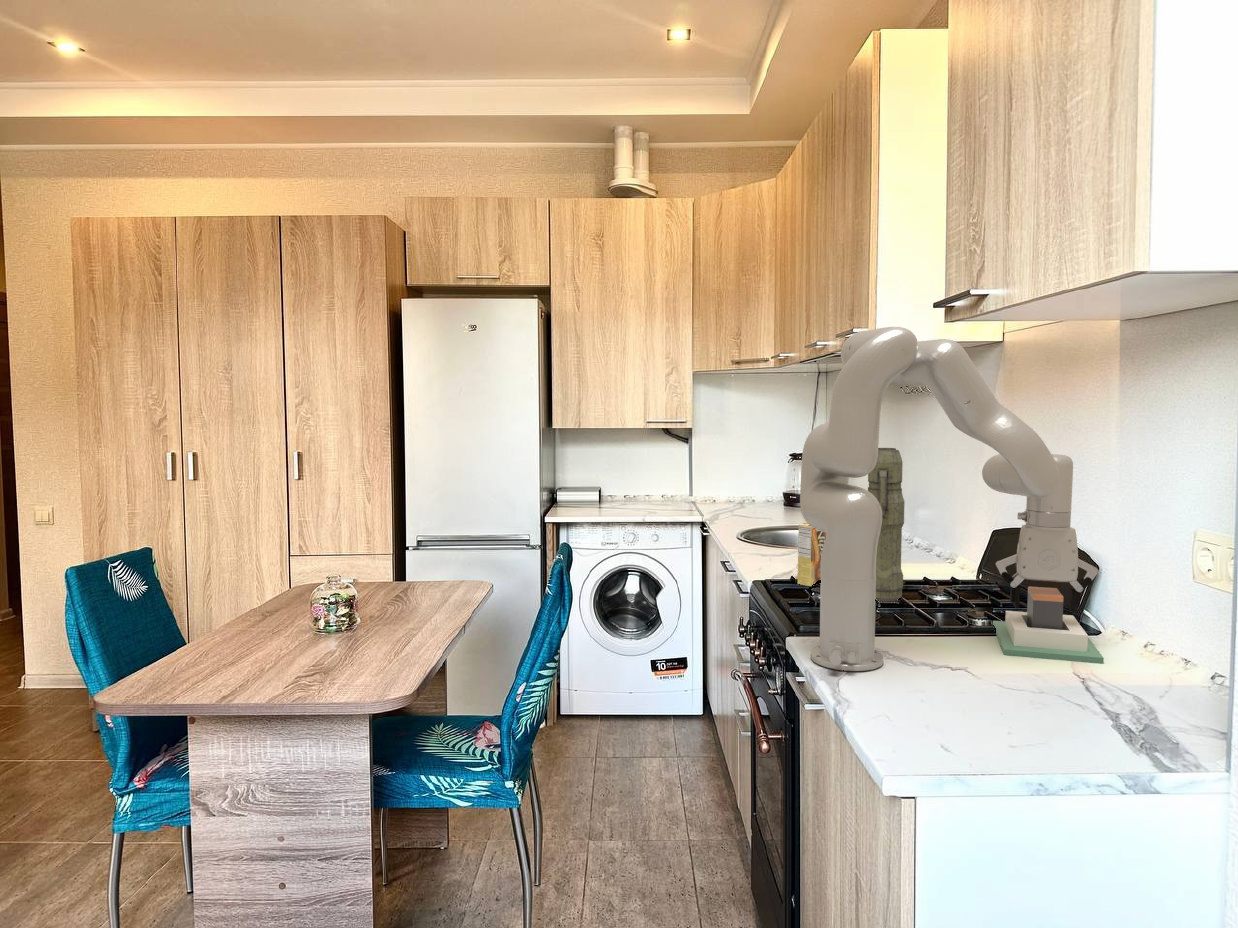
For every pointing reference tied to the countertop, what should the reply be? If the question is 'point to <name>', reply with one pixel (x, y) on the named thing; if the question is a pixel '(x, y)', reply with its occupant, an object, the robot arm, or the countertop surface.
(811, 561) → the candy box
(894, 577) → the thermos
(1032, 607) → the plug
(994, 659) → the countertop surface
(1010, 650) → the board
